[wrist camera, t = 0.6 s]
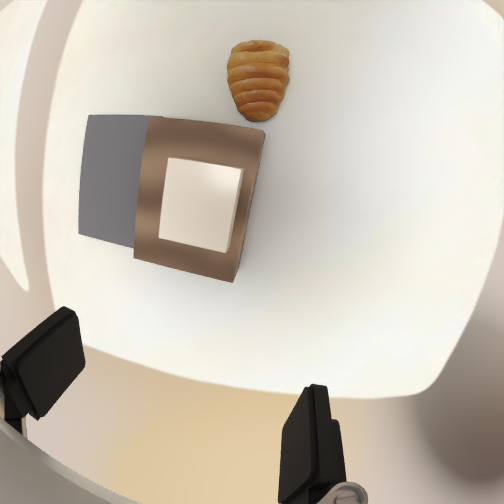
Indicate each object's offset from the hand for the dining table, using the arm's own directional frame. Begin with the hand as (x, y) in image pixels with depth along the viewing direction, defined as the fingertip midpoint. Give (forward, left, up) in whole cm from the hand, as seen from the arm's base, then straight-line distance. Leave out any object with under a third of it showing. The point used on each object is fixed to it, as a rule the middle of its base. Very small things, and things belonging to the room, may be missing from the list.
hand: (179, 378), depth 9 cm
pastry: (-17, -2, -24) cm, 30 cm away
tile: (-3, -5, -20) cm, 20 cm away
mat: (-3, -19, -24) cm, 30 cm away
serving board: (-3, -6, -24) cm, 25 cm away
